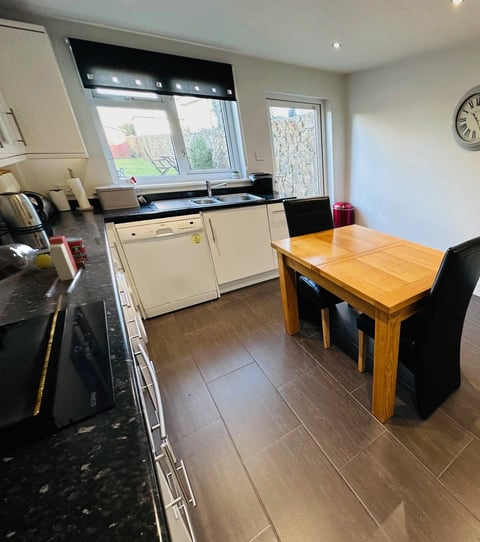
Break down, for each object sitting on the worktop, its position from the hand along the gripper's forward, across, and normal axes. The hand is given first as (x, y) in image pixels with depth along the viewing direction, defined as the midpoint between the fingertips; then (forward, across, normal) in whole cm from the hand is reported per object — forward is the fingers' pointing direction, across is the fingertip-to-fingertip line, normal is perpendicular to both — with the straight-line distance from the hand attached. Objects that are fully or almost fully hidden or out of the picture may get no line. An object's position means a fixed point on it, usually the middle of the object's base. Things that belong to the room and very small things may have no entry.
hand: (28, 251), depth 93 cm
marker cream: (+24, -3, +14) cm, 28 cm away
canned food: (+52, -5, +11) cm, 53 cm away
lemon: (+46, +6, +12) cm, 48 cm away
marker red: (+29, -3, +14) cm, 32 cm away
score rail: (+20, -2, +16) cm, 26 cm away
